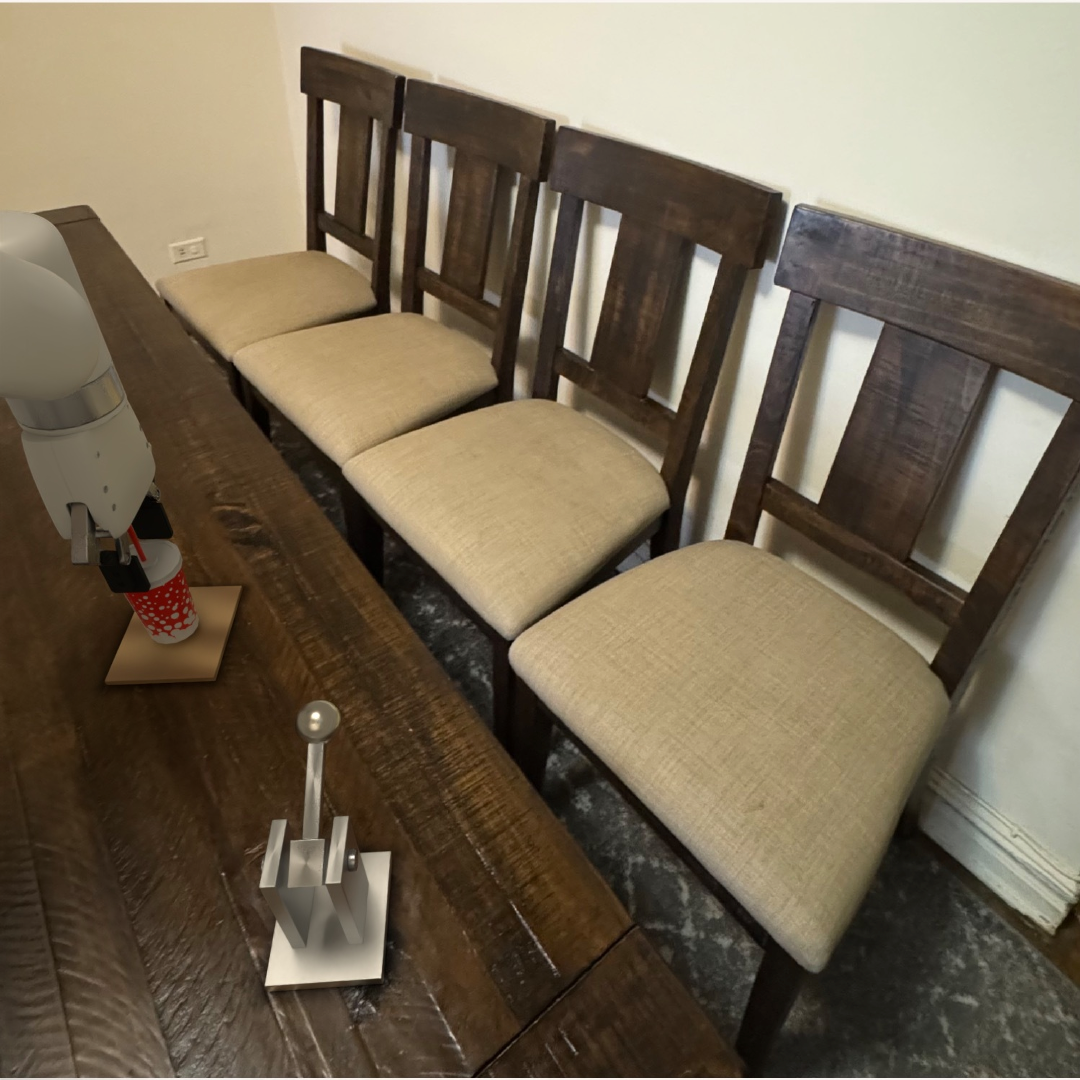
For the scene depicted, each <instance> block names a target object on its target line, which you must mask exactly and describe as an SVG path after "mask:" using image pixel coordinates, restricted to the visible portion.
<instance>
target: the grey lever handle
mask: <svg viewBox="0 0 1080 1080" xmlns="http://www.w3.org/2000/svg"><path fill="white" fill-rule="evenodd" d="M342 726H343V715H342V713H341V711H340V709H339V708H338V707H337V706H336V705H335V703H333V702H331V701H330V700H327V699H314V700H313V699H312V700H310V701H308V702H307V703H304V705H302V706H301V707H300V709H299V710H298V712H297V713H296V715H295V719H294V731H295V733H296V736H297V737H298V738H299V740H300V741H301V742H302V743H304V744H306V745H307V753H306V766H305V767H306V769H305V782H304V783H305V785H304V798H303V814H302V815H303V816H302V832H301V833H302V834H301V839H296V840H291V841H290V856H289V870H288V885H287V888H297V887H313V886H324V885H325V879H326V871H327V864H328V857H329V849H330V842H331V838H323V837H322V836H323V822H324V821H323V820H324V819H323V818H324V801H325V782H326V766H327V765H326V762H327V745H328V744H330V743H332V742H333V741H334V740H335V739H336V738H337V737H338V736H339V734H340V732H341V731H342Z"/></svg>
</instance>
